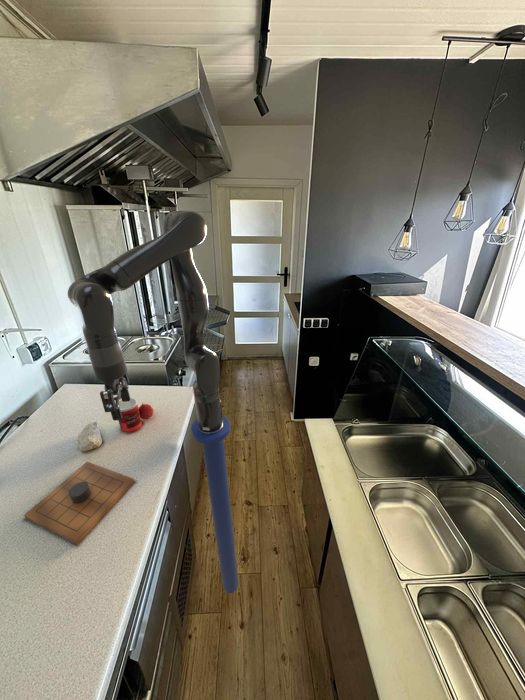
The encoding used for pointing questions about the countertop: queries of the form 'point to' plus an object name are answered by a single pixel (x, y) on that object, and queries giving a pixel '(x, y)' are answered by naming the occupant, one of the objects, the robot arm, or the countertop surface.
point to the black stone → (79, 492)
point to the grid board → (81, 517)
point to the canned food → (130, 416)
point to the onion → (145, 411)
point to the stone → (89, 437)
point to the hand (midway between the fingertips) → (122, 409)
